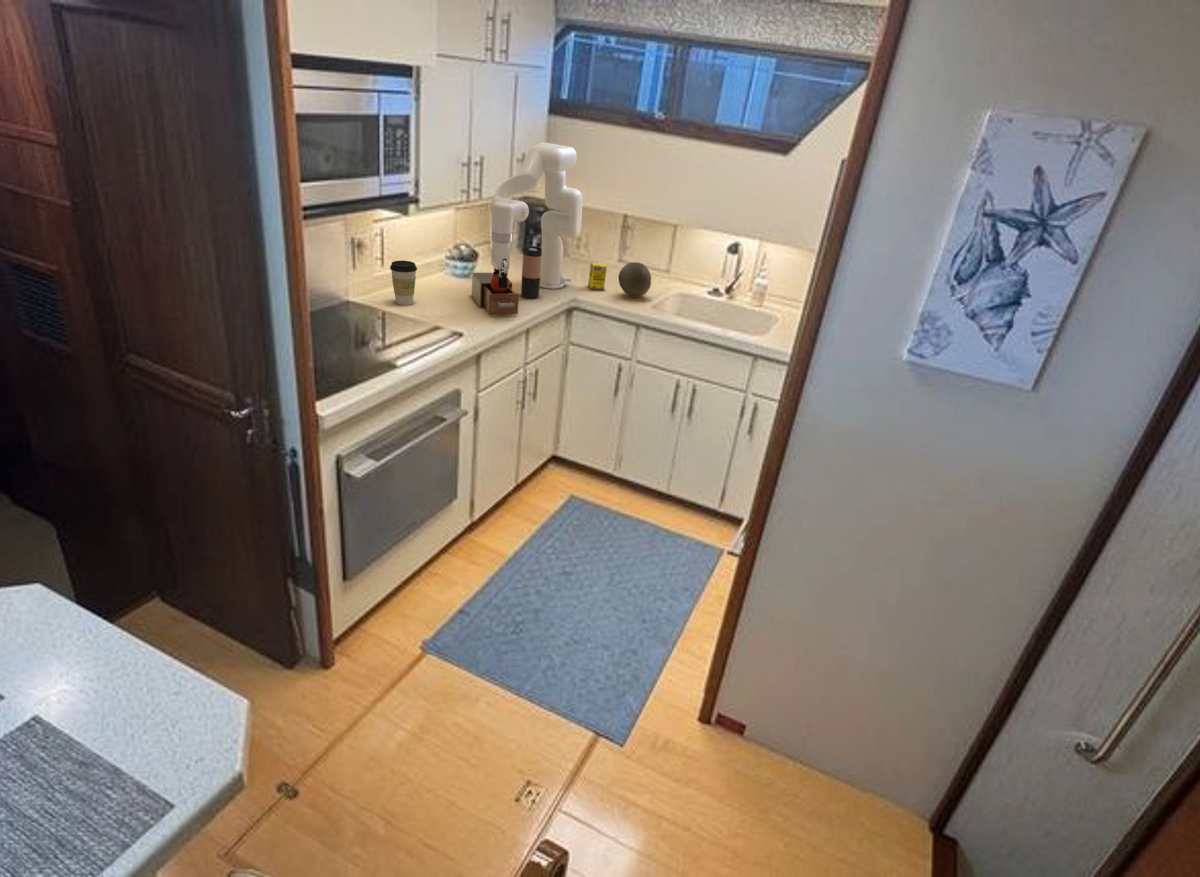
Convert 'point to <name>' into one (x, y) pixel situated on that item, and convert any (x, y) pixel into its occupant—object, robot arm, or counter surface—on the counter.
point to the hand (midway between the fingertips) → (500, 284)
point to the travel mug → (531, 272)
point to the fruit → (496, 282)
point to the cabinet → (481, 285)
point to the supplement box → (597, 276)
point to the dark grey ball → (635, 279)
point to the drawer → (500, 301)
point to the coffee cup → (403, 281)
